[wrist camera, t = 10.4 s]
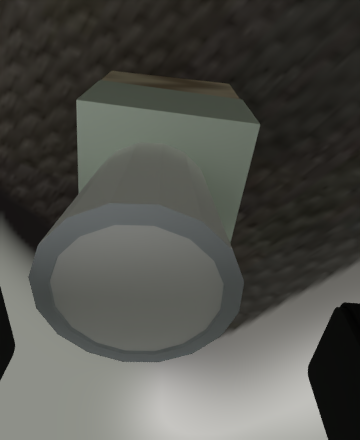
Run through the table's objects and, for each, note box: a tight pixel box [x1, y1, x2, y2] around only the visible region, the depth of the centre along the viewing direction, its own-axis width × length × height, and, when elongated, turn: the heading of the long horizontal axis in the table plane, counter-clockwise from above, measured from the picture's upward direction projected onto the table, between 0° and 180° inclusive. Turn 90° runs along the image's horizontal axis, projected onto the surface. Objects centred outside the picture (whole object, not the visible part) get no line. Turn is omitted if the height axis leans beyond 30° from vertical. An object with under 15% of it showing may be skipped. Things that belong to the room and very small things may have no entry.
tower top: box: [76, 80, 260, 242], centre depth 19 cm, size 8×8×5 cm
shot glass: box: [29, 142, 244, 362], centre depth 14 cm, size 7×7×7 cm
